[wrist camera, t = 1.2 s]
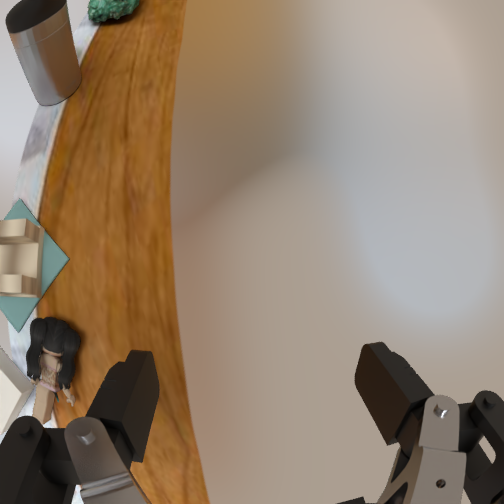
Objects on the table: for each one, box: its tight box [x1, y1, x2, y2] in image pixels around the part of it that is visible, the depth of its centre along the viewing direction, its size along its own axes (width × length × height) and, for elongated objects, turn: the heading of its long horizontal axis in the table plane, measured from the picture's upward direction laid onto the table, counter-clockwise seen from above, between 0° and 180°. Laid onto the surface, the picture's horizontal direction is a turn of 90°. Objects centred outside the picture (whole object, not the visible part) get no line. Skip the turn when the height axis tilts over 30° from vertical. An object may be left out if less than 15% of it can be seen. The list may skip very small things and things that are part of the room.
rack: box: [0, 218, 45, 298], centre depth 24 cm, size 10×9×6 cm
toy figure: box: [26, 317, 81, 424], centre depth 23 cm, size 7×6×15 cm
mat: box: [0, 199, 69, 332], centre depth 26 cm, size 13×13×1 cm
